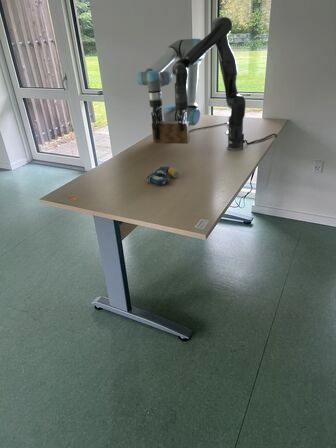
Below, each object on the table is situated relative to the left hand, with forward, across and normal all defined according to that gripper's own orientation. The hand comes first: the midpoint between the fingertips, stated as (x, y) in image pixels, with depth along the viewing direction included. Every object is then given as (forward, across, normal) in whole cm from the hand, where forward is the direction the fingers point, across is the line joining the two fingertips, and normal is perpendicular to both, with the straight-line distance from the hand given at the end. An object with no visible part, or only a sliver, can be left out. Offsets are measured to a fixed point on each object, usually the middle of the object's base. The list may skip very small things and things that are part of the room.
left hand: (159, 137), depth 210 cm
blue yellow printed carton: (+12, -34, -13) cm, 38 cm away
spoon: (+12, +67, -38) cm, 78 cm away
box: (+3, 0, -8) cm, 8 cm away
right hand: (-5, 0, -16) cm, 17 cm away
